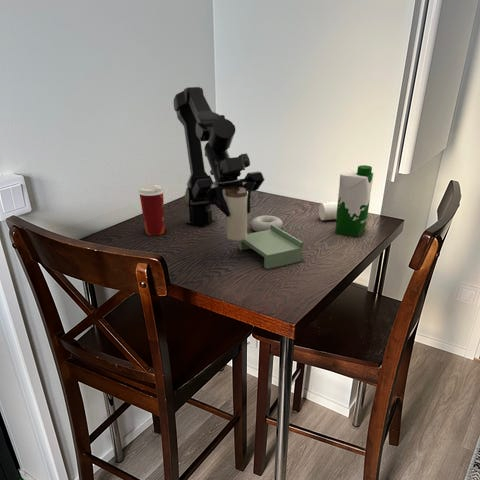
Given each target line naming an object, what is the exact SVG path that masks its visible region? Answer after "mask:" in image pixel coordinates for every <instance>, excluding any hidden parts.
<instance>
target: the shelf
mask: <svg viewBox="0 0 480 480" xmlns="http://www.w3.org/2000/svg"><path fill="white" fill-rule="evenodd" d="M303 248H304V242H303V241H301V239H298V238H296V237H295V236H293V235H292V234H290V233H288V232H286V231H284V230H283V229H282V228H281V229H279V228H278V227H276V226H274V225H273V224H271V230H265V231H260V232H256V231H254V232H250V233H247V238H246V239H244V240H238V249H239V250H240V251H245V250H250V249H251V250H253V251H255V252H256V253H257V254H259V255H260V256H262V257H263V258H264V259H263V260H264V261H263V267H264V268H265V269H266V270H269V269H274V268H279V267H282V266H287V265H292V264H296V263H301V262H303V250H304V249H303Z"/></svg>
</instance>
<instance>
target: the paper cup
mask: <svg viewBox="0 0 480 480" xmlns="http://www.w3.org/2000/svg"><path fill="white" fill-rule="evenodd" d="M164 193H165V190H164V187H163V186H162V185H159V184H145V185H142V186H140V187H139V188H138V192H137V194H138V195H139V200H140V205H141V211H142V217H143V223H144V228H145V229H144V230H145V234H146V235H148V236H161V235H163V234H164V233H165V206H164V204H165V203H164Z"/></svg>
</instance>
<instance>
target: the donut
mask: <svg viewBox="0 0 480 480" xmlns="http://www.w3.org/2000/svg"><path fill="white" fill-rule="evenodd" d="M271 224H273V225H274V226H276V227H278V228H279V229H281V230H282V228H283V221H282V220H281V219H280V217H277V216H274V215H258V216H255V217H254V218H253V219H252V220H251V222H250V227H251V229H252V230H253V231H254V232H260V231H265V230H271Z"/></svg>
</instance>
